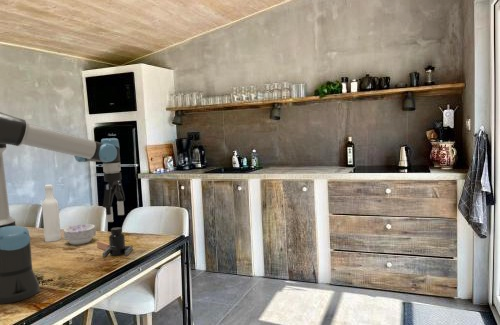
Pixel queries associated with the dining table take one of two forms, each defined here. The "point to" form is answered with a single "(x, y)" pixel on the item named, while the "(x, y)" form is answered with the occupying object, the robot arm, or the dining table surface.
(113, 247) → the supplement bottle
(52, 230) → the bottle
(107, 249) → the holder
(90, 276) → the dining table surface
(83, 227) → the paper bowls
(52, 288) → the dining table surface
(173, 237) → the dining table surface
